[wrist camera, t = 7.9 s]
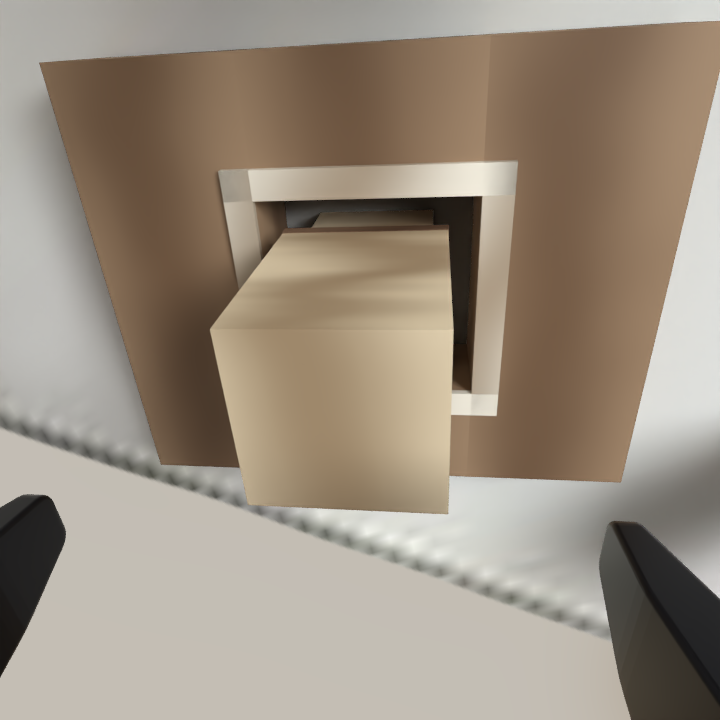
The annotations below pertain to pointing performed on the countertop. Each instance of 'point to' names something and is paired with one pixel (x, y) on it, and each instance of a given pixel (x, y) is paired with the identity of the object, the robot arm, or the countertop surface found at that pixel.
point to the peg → (344, 365)
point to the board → (407, 180)
